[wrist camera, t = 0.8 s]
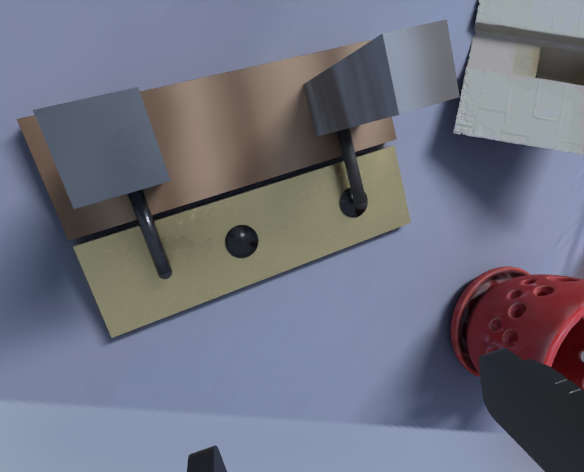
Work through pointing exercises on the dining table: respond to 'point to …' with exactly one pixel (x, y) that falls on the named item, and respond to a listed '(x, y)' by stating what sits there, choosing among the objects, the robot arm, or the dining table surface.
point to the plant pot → (522, 320)
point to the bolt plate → (241, 240)
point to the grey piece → (526, 74)
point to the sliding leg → (108, 156)
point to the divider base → (271, 121)
